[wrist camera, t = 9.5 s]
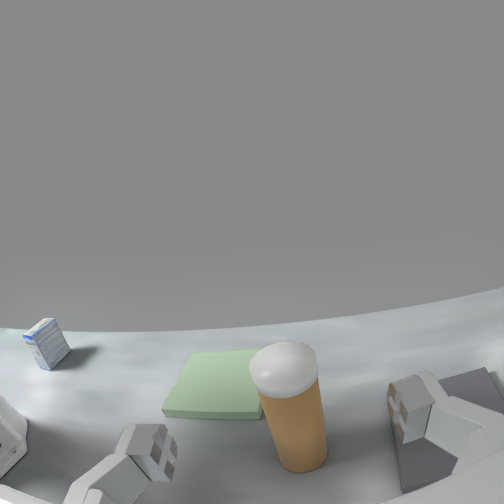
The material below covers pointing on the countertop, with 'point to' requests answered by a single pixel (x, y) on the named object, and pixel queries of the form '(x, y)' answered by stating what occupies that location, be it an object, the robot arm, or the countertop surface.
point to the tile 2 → (429, 454)
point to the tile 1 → (215, 388)
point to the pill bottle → (292, 403)
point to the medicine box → (47, 343)
